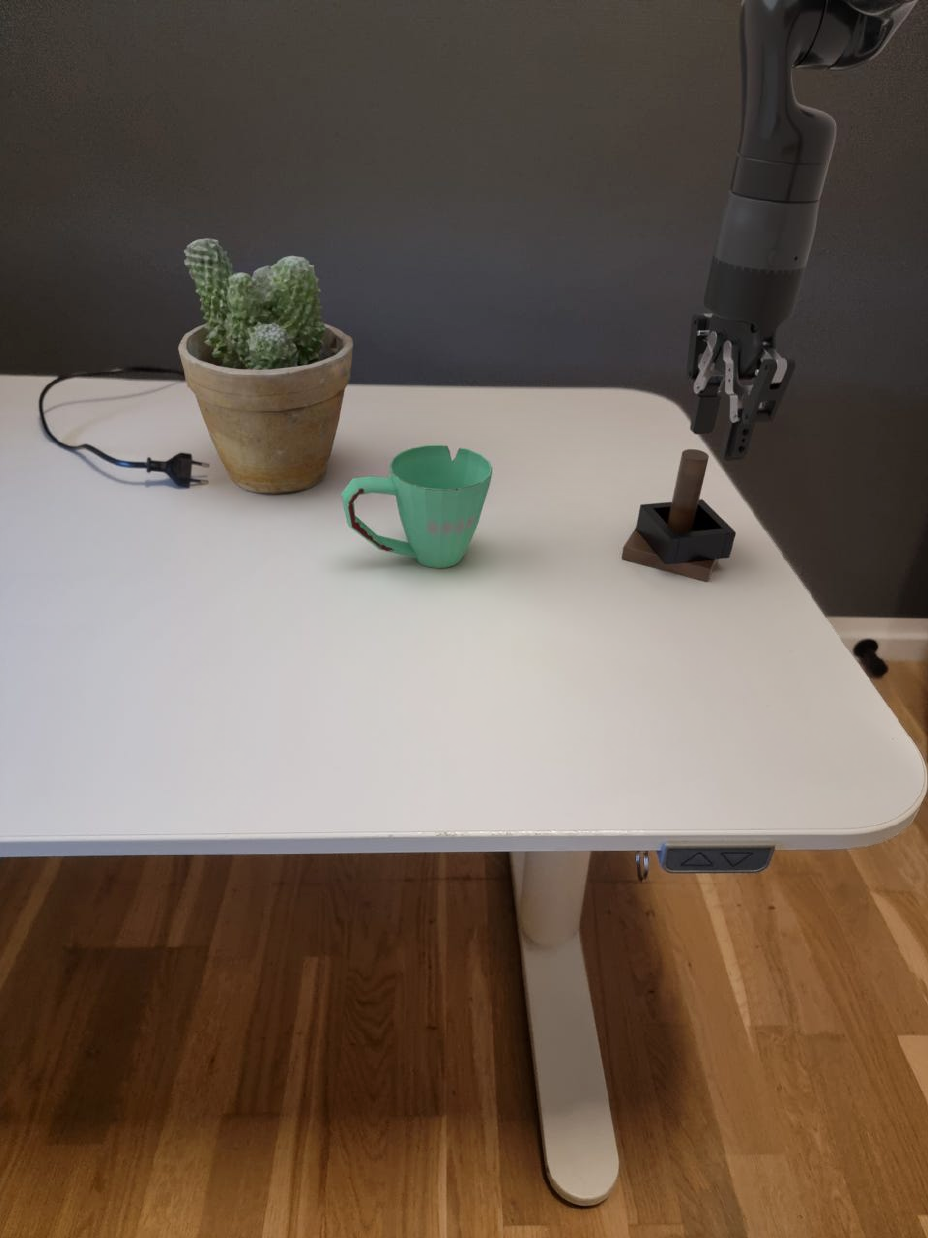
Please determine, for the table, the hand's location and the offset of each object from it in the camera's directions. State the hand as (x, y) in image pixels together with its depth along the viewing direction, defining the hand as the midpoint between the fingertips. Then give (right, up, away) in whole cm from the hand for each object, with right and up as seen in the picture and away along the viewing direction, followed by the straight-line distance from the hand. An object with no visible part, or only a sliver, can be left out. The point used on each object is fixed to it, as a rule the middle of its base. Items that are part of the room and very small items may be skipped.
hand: (716, 444), depth 81 cm
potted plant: (-46, +1, +21) cm, 50 cm away
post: (-1, -9, +10) cm, 14 cm away
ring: (-1, -9, +9) cm, 12 cm away
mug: (-29, -10, +7) cm, 31 cm away
